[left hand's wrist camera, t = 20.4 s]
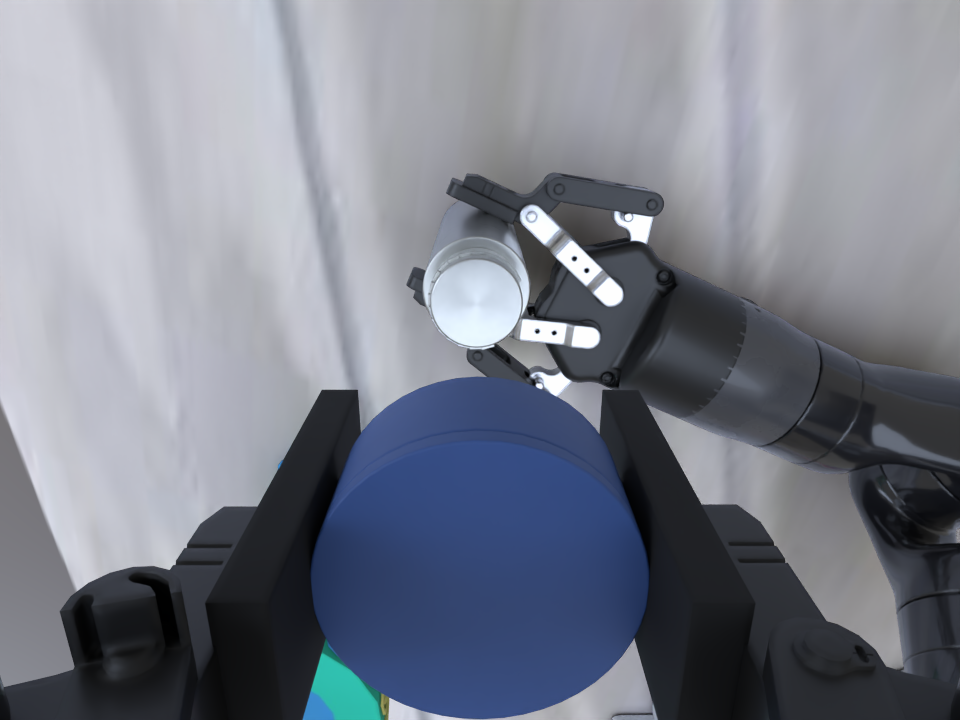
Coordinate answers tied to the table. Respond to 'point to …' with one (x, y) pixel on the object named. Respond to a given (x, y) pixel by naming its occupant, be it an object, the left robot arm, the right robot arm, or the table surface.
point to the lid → (479, 552)
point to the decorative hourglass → (342, 692)
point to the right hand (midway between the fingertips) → (430, 232)
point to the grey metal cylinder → (475, 278)
